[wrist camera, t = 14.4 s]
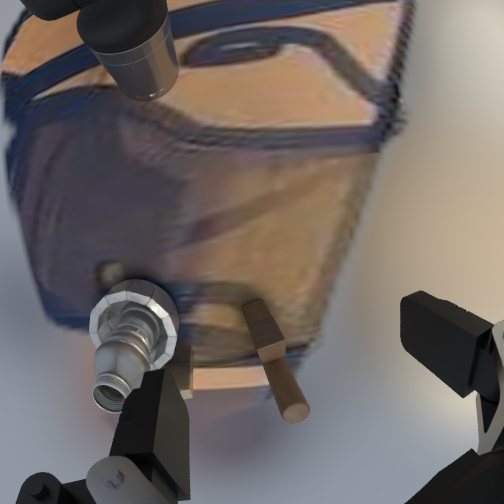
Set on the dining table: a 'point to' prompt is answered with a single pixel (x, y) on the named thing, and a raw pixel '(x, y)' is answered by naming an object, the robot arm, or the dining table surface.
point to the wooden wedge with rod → (275, 362)
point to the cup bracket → (163, 348)
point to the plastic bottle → (125, 356)
